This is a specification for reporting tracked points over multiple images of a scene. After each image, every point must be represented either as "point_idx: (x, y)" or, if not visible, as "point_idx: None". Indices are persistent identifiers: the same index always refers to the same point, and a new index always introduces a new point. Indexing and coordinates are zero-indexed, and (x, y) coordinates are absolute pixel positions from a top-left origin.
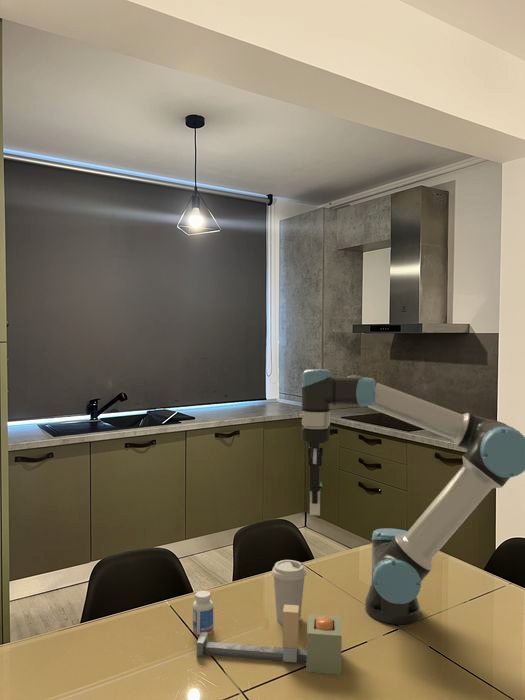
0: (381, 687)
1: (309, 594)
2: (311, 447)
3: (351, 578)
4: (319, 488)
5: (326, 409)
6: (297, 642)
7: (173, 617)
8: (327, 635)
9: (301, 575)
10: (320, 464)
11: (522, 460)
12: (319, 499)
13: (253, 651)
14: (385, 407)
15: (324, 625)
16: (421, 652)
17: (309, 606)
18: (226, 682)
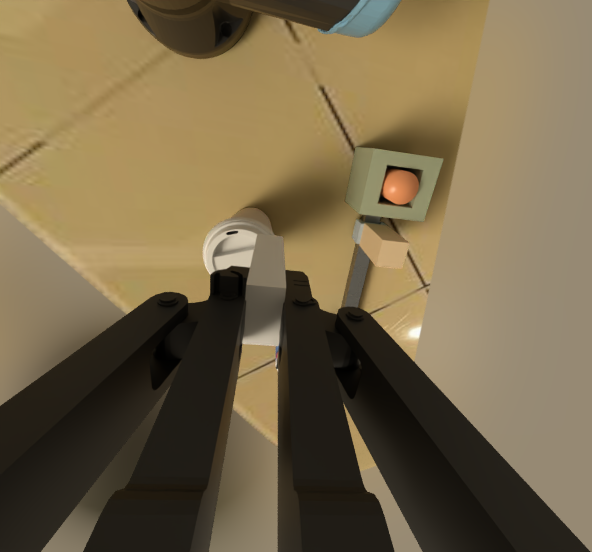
0: (453, 91)
1: (144, 181)
2: None
3: (23, 60)
4: (365, 316)
5: None
6: (390, 228)
7: (257, 375)
8: (434, 185)
9: (266, 231)
10: (378, 524)
11: None
12: (284, 267)
13: (363, 281)
14: None
15: (417, 189)
16: None
17: (197, 186)
18: (404, 303)
